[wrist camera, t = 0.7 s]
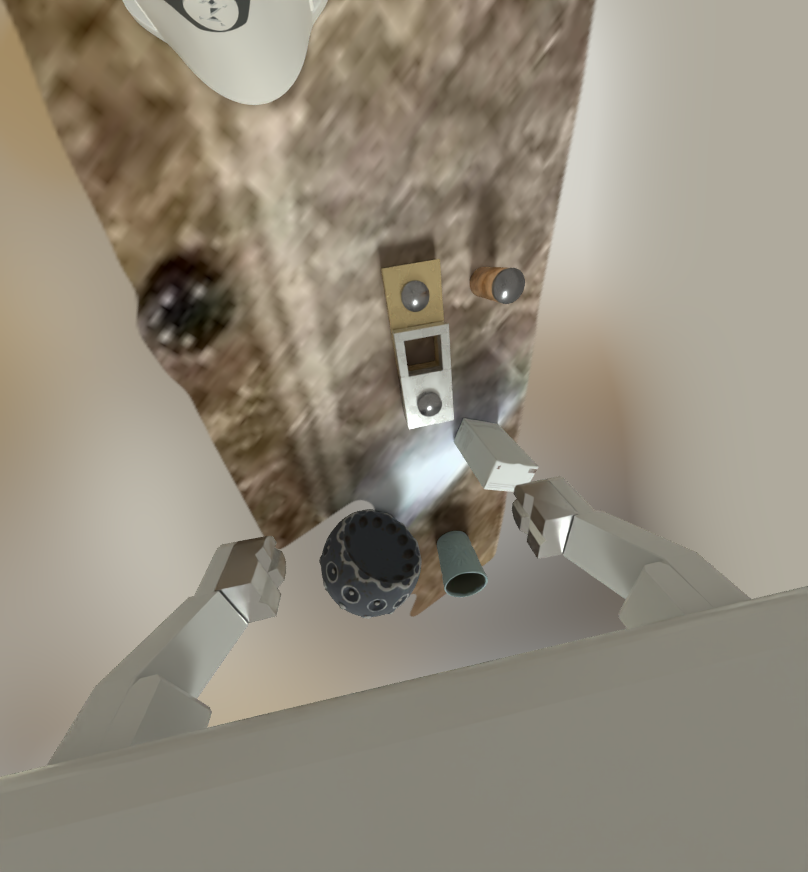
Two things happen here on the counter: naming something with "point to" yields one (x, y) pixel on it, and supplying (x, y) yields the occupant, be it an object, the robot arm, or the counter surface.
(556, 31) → the counter surface
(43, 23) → the counter surface
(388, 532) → the scalloped baking dish
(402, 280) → the chain joint
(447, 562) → the teal plant pot
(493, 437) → the skincare box
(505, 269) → the pin
